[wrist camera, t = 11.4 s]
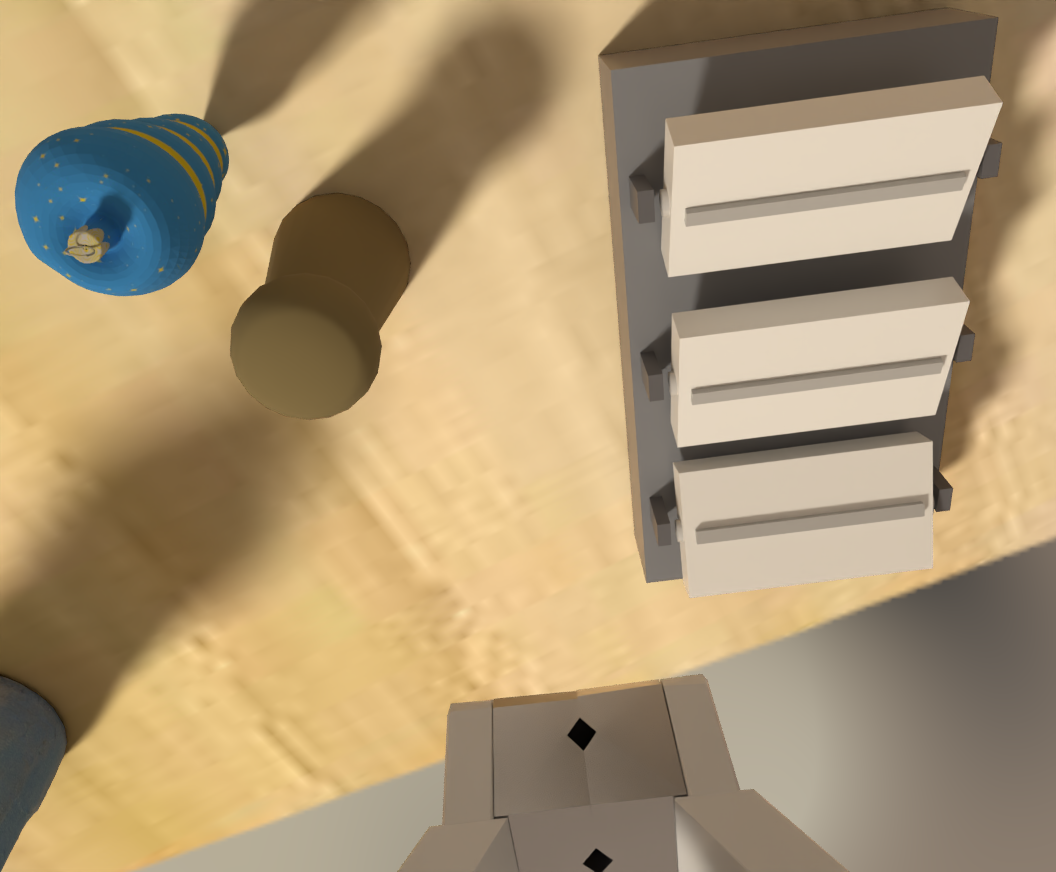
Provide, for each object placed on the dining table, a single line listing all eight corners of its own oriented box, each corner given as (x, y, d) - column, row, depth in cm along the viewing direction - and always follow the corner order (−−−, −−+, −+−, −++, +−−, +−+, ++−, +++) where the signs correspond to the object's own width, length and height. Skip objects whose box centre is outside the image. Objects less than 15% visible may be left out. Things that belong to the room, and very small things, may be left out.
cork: (278, 322, 41) (217, 444, 31) (266, 190, 38) (194, 281, 28) (411, 326, 41) (390, 448, 32) (409, 195, 38) (385, 286, 29)
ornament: (142, 59, 35) (-57, 142, 22) (275, 74, 36) (157, 164, 23) (154, 191, 38) (-18, 333, 25) (278, 203, 38) (174, 349, 25)
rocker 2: (666, 313, 35) (675, 344, 34) (957, 275, 35) (978, 305, 34) (665, 422, 39) (674, 453, 38) (925, 389, 39) (942, 419, 38)
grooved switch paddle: (668, 462, 40) (675, 476, 39) (921, 430, 40) (940, 442, 38) (679, 583, 42) (686, 601, 40) (921, 553, 42) (940, 570, 40)
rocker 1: (659, 119, 31) (670, 152, 30) (990, 74, 31) (1012, 106, 30) (655, 250, 36) (664, 283, 35) (941, 212, 36) (959, 244, 34)
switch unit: (598, 55, 36) (618, 79, 31) (955, 6, 36) (1040, 22, 30) (634, 534, 48) (653, 612, 43) (901, 501, 48) (955, 575, 42)
